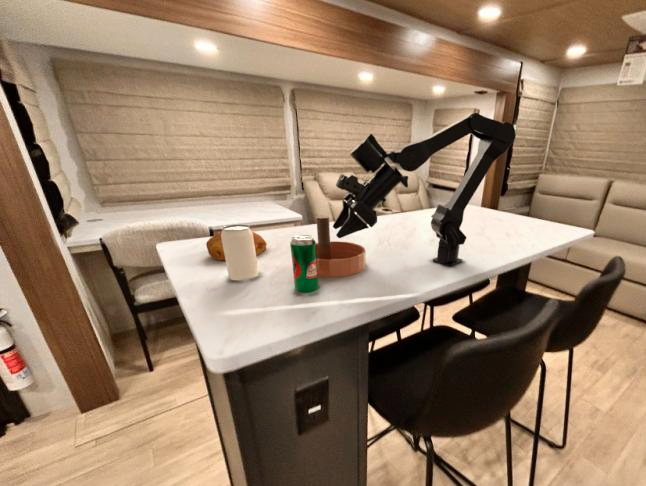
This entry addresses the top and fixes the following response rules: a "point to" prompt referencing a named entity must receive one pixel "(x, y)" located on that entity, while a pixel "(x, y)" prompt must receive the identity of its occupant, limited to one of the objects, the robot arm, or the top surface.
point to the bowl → (342, 260)
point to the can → (239, 252)
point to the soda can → (304, 263)
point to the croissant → (217, 247)
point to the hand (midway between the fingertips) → (335, 232)
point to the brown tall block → (323, 237)
